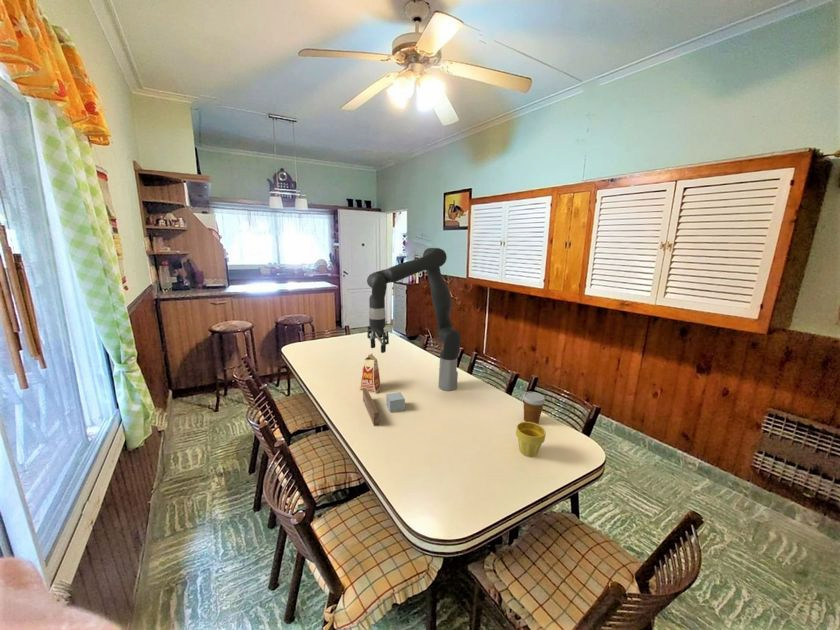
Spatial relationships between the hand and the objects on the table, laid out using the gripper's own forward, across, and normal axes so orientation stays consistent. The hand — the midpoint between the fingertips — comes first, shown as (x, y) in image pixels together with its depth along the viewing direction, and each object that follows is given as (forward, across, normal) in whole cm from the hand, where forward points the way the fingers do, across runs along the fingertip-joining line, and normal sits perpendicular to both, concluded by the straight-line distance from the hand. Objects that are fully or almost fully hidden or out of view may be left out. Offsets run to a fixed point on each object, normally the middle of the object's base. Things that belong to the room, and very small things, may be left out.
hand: (378, 350), depth 154 cm
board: (+26, -7, +9) cm, 28 cm away
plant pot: (+27, -68, -22) cm, 77 cm away
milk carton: (+26, +13, -3) cm, 30 cm away
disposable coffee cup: (+28, -57, -43) cm, 77 cm away
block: (+26, -11, -2) cm, 28 cm away
